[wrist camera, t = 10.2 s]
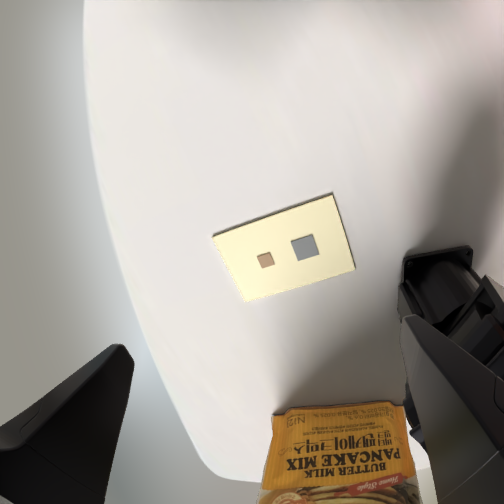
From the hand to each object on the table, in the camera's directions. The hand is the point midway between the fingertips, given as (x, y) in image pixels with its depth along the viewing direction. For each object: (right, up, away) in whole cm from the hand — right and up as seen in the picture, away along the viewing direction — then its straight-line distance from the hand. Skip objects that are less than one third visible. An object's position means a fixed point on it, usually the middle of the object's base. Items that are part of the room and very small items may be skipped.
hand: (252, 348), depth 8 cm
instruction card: (+2, +3, +13) cm, 14 cm away
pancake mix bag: (+11, -17, +22) cm, 30 cm away
